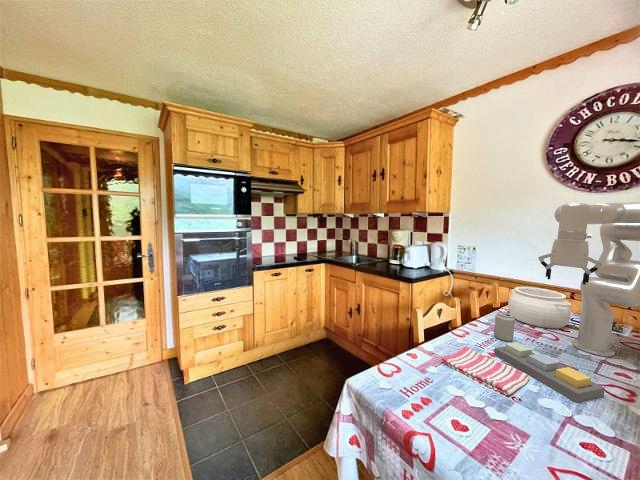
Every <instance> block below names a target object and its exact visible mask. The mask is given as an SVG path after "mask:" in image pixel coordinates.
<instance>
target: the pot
mask: <svg viewBox="0 0 640 480" xmlns="http://www.w3.org/2000/svg"><path fill="white" fill-rule="evenodd" d="M566 298H567V295H566V294H564V293H562V292H558V291H555V290H552V289H551V290H550V289H546V288H540V287H531V286H516V287H515V288H514V289H511V295H510V296H509V298H508V301H507V302H508V303H507V304H508V305H507V306H508V307H507V308H508V311H509V313H510V314H512V315H514V316H513V317H514V318H515V320H517V321H519V322H521V323H524V324H527V325H530V326H535V327H538V328H539V327H540V328H546V329H561V328H564V327H565V326H567V324H569V322H570V320H571V316H572V310H571V307H572V303H571V302H568V301H567V299H566Z"/></svg>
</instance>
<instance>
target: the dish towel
mask: <svg viewBox="0 0 640 480" xmlns="http://www.w3.org/2000/svg"><path fill="white" fill-rule="evenodd" d="M441 360H442V364H443V365H446V366H448V367H449V368H450V369H452V370H454V371H456V372H458V373H461V374H463V375H464V376H466V377H468V378H470V379H472V380H474V381H476V382H478V383H481V384H482V385H484V386H486V387H488V388H490V389H492V390H494V391H495V392H498V393H500V394H503V395H505V396H511V395H512V394H513V393H515V392H516V391H517V390H519V389H520V388H522V387H523V386H525V385H527V383H528V382H529V381H530V380H531V376H530V375H528V374H526V373H524V372H523V371H521V370H519V369H517V368H516V367H514V366H512V365H508V364H506V363H502V362H499V361H497V360H494V359H493V358H491V357H487V356H484V355H483V354H481V353H480V352H478V351H476V350H473V349H471V348H469V347H468V346H467V345H464V346H461V348H459V349H458V350H457V351H456V352H453V353H452V354H449V355H444V356H443V357H442V358H441Z"/></svg>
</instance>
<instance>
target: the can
mask: <svg viewBox="0 0 640 480" xmlns="http://www.w3.org/2000/svg"><path fill="white" fill-rule="evenodd" d="M513 316H514V315H512V314H511V313H510V312H506V311H497V313H496V314H495V317H494V328H493V331H494V332H493V335H494V337H495V338H496V339H498V340H500V341H503V342H504V341H505V342H511V341H514V335H515V324H516V319H515V318H514V317H513Z"/></svg>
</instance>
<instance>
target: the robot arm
mask: <svg viewBox="0 0 640 480" xmlns="http://www.w3.org/2000/svg"><path fill="white" fill-rule="evenodd" d="M554 219H555V221H556V222H557V223H558V230H557V231H558V232H557V236H556V237H557V239H553V240H554V241H553V243H552V247H551V251H550V253H547V254H543V255H539V256H538V260H539V262H540V264H541V265H542V266H543V267H544V268H545V270H546V271H545V278H547V280H551V275H552V268H553V267H554V266H560V267H566V268H567V267H568V268H576V269H577V268H579V269H582V270H583V271H584V273H583V276H582V280H581V282H580V287H579V288H580V294H581V305H580V306H581V307H580V315H579V316H580V317H579V324H578V325H579V326H578V333H577V334H578V335H577V336H578V337H577V339H574V340H573V341H572V342H571V343H572V346H573V347H575V348H577V349H578V350H580V351H582V352H586V353H588V354H592V355H595V356H600V357H605V358H607V357H609V358H610V357H613V356H615V353H616V352H615V350H613V349H612V348H611V345H615V343H616V342H615V340H613V339H612V334H613V333H612V331H613V323H614V315H615V314H614V310H613V309H612V307H611V305H610V303H611V304H615V305H619V306H624V307H630V308H637V307H639V306H640V261H639V260H633V259H631V258H632V256H633V251H632V250H631V249H630V248H629V246H628V245H627V244H625V243H624V242H622V241H633V242H634V241H635V242H640V202H639V201H638V202H596V203H583V202H582V203H579V202H578V203H577V202H573V203H565V204H562V205H559V206H558V207H557V208H556V209H555V211H554ZM588 225H601V226H600V227H599V235H600V242H601V244H602V252H601V254H600V256H599V258H598V260H596V259H594V258H592V257H590V255H589V252H590V251H589V250H590V249H589V241H588V240H587V241H586V239H592V237H593V235H592V234H589V233H587V230H588ZM548 258H550V259H549V263H547V262H546V261H545V259H548ZM589 262H590V263H592V264H594V266H593V267H591V268H588V263H589ZM592 273H594V275H595V277H594V276H592V277H591V274H592Z"/></svg>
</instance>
